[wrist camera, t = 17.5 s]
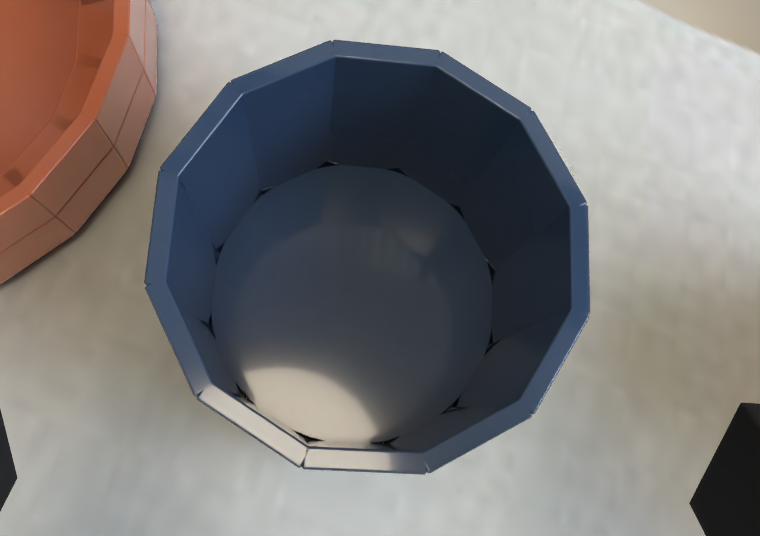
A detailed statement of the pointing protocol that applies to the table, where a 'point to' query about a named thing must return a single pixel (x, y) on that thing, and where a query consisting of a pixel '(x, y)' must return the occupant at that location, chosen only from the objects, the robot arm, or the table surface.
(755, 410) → the robot arm
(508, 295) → the blue faceted pot
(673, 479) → the table surface
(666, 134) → the table surface
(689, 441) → the table surface
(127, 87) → the lower bowl
